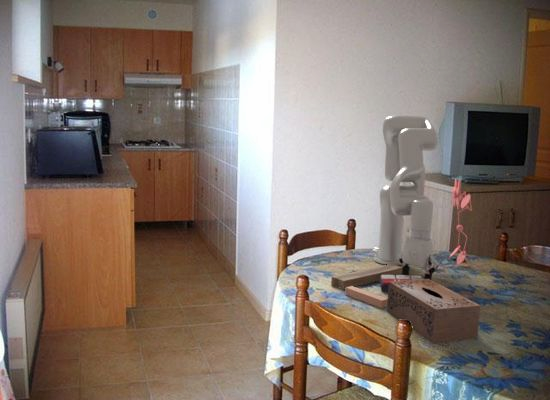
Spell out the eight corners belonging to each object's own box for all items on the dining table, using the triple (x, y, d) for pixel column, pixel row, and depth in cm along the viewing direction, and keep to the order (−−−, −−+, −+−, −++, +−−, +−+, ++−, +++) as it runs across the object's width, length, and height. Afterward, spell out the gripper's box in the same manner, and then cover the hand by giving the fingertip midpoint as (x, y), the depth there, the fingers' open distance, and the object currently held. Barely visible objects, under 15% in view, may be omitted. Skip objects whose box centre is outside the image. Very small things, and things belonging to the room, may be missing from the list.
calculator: (379, 273, 219) (421, 274, 217) (379, 285, 219) (421, 285, 218) (381, 282, 208) (426, 283, 206) (381, 294, 208) (425, 295, 207)
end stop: (345, 294, 204) (345, 287, 204) (351, 292, 206) (352, 285, 206) (381, 308, 192) (381, 300, 192) (387, 306, 194) (388, 298, 193)
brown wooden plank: (331, 284, 214) (331, 276, 214) (390, 271, 234) (391, 263, 234) (343, 289, 210) (343, 280, 209) (402, 275, 230) (403, 267, 229)
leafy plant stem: (462, 254, 264) (467, 175, 258) (476, 271, 239) (482, 183, 233) (426, 253, 265) (430, 174, 259) (436, 270, 240) (442, 182, 234)
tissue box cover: (386, 312, 189) (388, 281, 188) (426, 308, 194) (428, 278, 192) (433, 344, 165) (435, 309, 164) (477, 339, 170) (480, 305, 168)
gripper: (393, 230, 217) (390, 276, 220) (433, 240, 204) (429, 289, 207) (407, 228, 222) (403, 273, 224) (447, 237, 209) (442, 285, 211)
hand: (416, 280), depth 216 cm, fingers open, 9 cm apart
